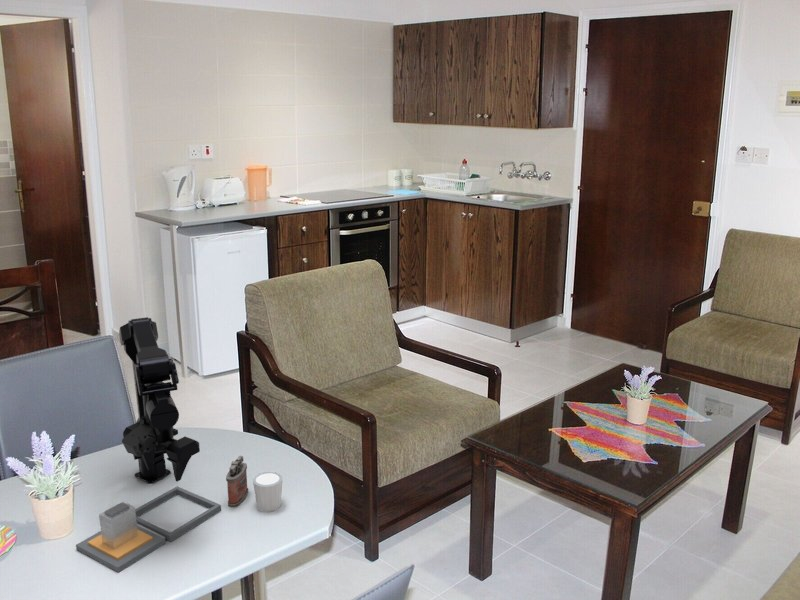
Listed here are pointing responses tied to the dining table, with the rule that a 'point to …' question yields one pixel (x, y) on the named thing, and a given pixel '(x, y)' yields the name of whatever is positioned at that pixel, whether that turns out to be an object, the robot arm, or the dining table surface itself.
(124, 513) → the block
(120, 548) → the lid
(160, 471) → the robot arm
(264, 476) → the grey cup
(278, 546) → the dining table surface
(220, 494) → the dining table surface
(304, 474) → the dining table surface
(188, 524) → the gray square frame
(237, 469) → the red tin
